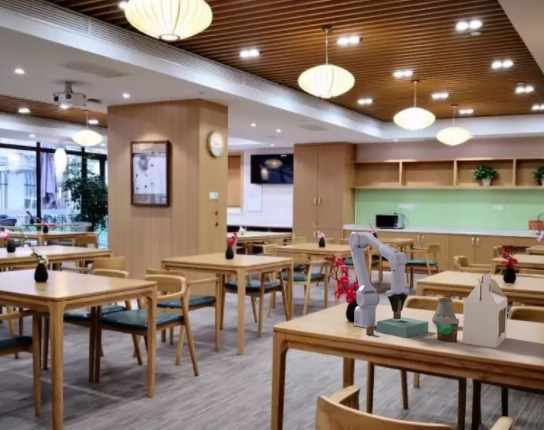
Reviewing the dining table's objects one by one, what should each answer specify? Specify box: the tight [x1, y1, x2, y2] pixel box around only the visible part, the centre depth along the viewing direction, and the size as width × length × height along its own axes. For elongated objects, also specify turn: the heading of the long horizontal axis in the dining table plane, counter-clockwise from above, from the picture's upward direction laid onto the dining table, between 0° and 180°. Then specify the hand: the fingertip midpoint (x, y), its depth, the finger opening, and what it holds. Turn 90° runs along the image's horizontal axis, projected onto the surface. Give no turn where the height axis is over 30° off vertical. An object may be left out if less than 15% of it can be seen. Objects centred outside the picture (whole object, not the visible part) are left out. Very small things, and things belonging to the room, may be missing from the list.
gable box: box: [462, 272, 508, 349], centre depth 242 cm, size 22×13×28 cm, turn 148°
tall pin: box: [392, 300, 402, 319], centre depth 250 cm, size 3×3×8 cm
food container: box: [435, 314, 460, 343], centre depth 241 cm, size 12×6×10 cm, turn 21°
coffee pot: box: [431, 290, 457, 327], centre depth 273 cm, size 21×12×15 cm, turn 149°
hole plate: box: [376, 316, 429, 339], centre depth 256 cm, size 15×18×4 cm
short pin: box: [365, 325, 375, 337], centre depth 249 cm, size 3×3×4 cm
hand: (397, 311), depth 251 cm, fingers closed on tall pin, 3 cm apart
